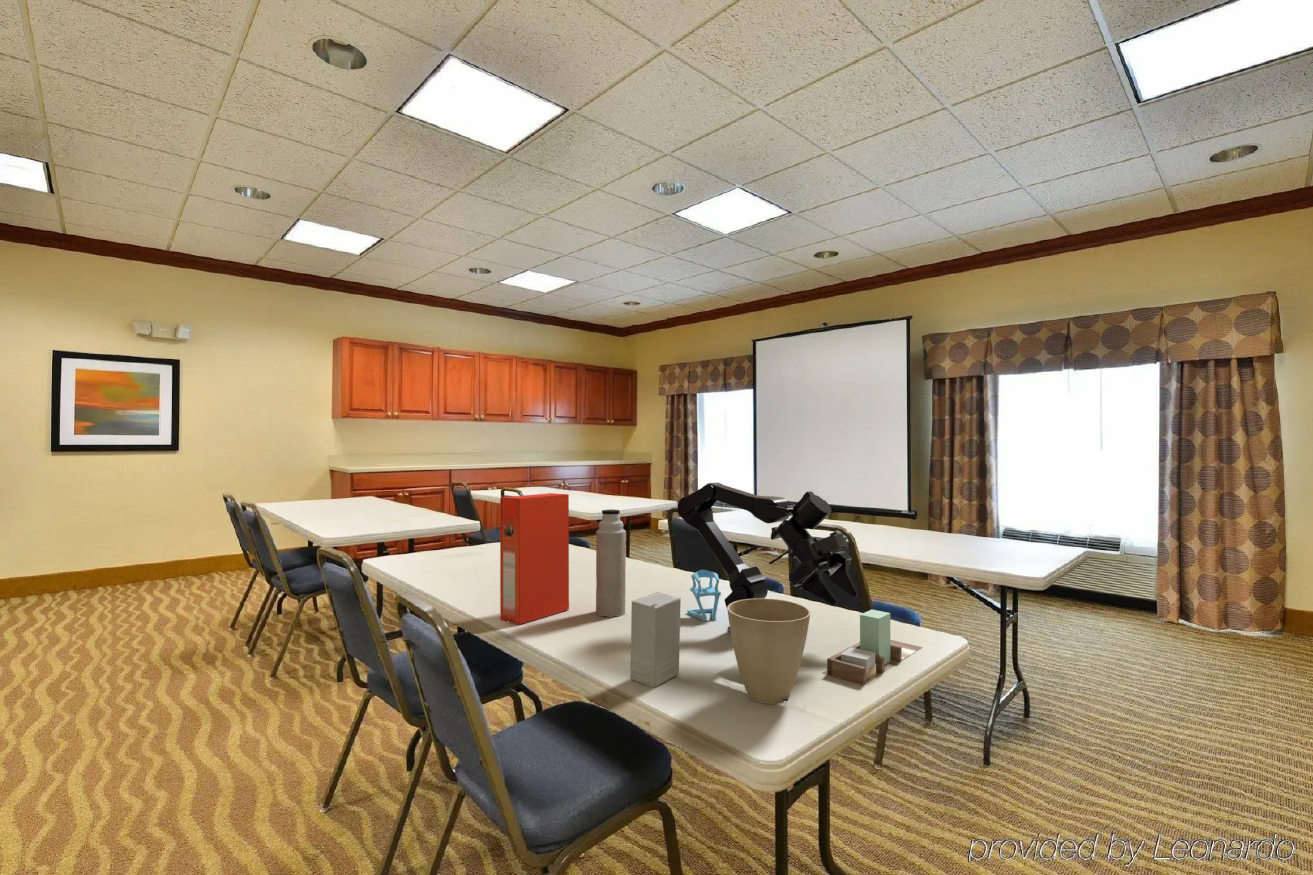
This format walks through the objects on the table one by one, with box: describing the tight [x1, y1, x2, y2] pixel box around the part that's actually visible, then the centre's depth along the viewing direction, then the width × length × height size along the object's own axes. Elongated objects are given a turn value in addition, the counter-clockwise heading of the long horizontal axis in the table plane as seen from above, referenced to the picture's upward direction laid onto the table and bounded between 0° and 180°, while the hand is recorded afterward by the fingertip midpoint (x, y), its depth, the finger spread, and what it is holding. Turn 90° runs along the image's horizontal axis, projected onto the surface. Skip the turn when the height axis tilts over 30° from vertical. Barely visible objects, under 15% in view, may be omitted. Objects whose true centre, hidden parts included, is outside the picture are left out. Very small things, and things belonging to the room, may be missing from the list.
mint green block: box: [859, 609, 891, 665], centre depth 125 cm, size 6×4×10 cm
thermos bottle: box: [595, 509, 627, 618], centre depth 164 cm, size 8×8×28 cm
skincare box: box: [629, 591, 682, 688], centre depth 118 cm, size 8×7×16 cm
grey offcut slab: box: [841, 646, 875, 670], centre depth 118 cm, size 5×5×2 cm
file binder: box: [499, 492, 570, 625], centre depth 162 cm, size 8×17×32 cm, turn 143°
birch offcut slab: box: [866, 663, 876, 680], centre depth 118 cm, size 5×5×2 cm
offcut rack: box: [821, 639, 924, 686], centre depth 126 cm, size 30×8×4 cm, turn 136°
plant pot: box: [726, 598, 811, 705], centre depth 110 cm, size 15×15×16 cm
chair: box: [687, 569, 722, 622], centre depth 161 cm, size 8×8×12 cm
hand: (846, 599), depth 129 cm, fingers open, 9 cm apart
